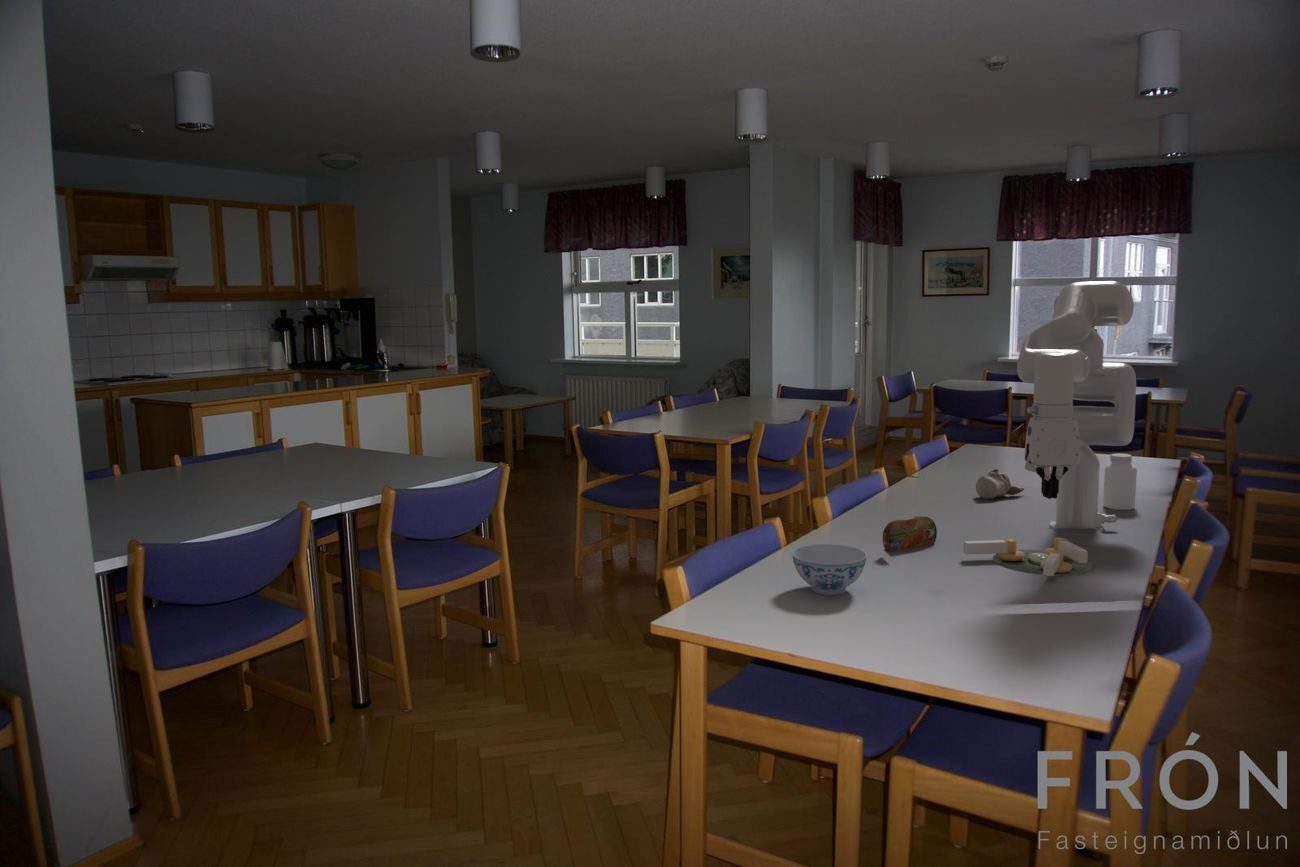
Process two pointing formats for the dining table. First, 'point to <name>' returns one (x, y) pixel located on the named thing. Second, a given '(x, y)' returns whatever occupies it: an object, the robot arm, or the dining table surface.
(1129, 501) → the pill bottle
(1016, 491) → the ceramic sculpture
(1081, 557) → the knob right
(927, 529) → the tin
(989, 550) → the knob left
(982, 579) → the dining table surface
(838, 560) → the chinaware
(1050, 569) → the knob front
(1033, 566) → the level base
